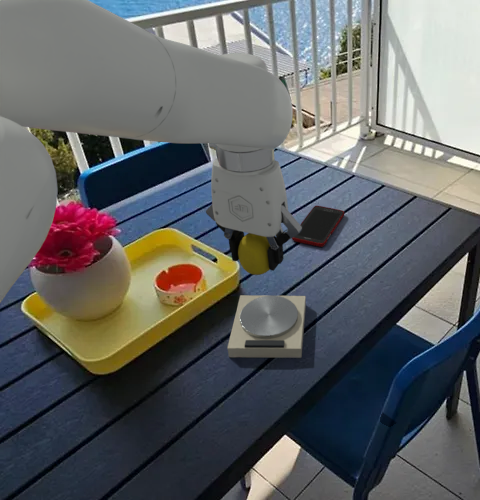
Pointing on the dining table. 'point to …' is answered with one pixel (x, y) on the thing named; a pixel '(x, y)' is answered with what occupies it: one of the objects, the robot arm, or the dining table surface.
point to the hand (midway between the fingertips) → (257, 259)
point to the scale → (268, 327)
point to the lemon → (254, 254)
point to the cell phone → (319, 225)
